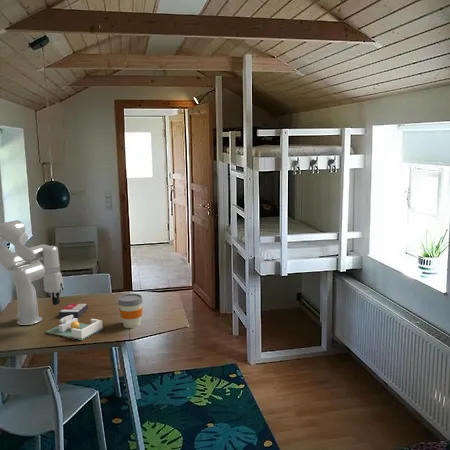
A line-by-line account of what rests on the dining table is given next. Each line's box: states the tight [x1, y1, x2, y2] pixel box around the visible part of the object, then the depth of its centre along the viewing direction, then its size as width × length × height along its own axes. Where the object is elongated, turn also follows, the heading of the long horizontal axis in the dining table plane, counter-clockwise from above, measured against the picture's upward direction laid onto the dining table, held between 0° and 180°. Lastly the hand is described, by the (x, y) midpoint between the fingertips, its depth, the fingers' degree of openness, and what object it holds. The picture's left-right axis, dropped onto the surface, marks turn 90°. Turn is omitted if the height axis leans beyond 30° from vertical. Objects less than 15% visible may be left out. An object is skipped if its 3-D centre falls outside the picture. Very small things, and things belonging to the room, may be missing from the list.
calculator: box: [58, 303, 89, 319], centre depth 274 cm, size 11×4×15 cm
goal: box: [71, 318, 104, 339], centre depth 244 cm, size 6×15×4 cm, turn 153°
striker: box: [58, 315, 79, 332], centre depth 249 cm, size 4×11×6 cm, turn 153°
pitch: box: [45, 322, 104, 341], centre depth 248 cm, size 24×16×1 cm, turn 63°
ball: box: [71, 321, 80, 329], centre depth 247 cm, size 4×4×4 cm
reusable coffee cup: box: [117, 293, 144, 329], centre depth 253 cm, size 13×13×15 cm
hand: (56, 304), depth 251 cm, fingers closed
